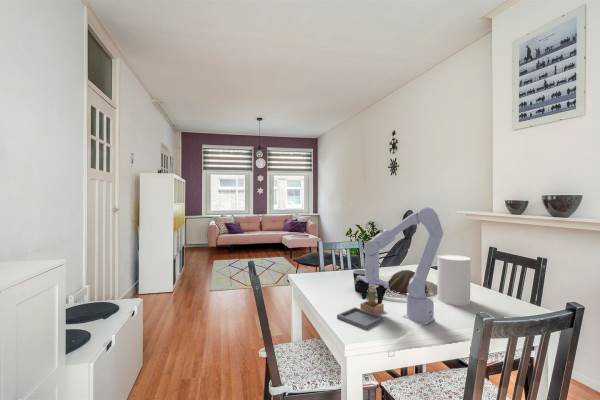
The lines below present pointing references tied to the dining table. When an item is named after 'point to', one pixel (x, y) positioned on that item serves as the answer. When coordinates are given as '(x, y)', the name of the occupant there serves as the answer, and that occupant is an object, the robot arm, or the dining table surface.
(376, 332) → the dining table surface
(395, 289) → the decorative dome
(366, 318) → the slate tray
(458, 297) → the canister
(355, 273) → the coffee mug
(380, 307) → the terracotta square socket
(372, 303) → the oak peg
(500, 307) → the dining table surface
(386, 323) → the dining table surface
